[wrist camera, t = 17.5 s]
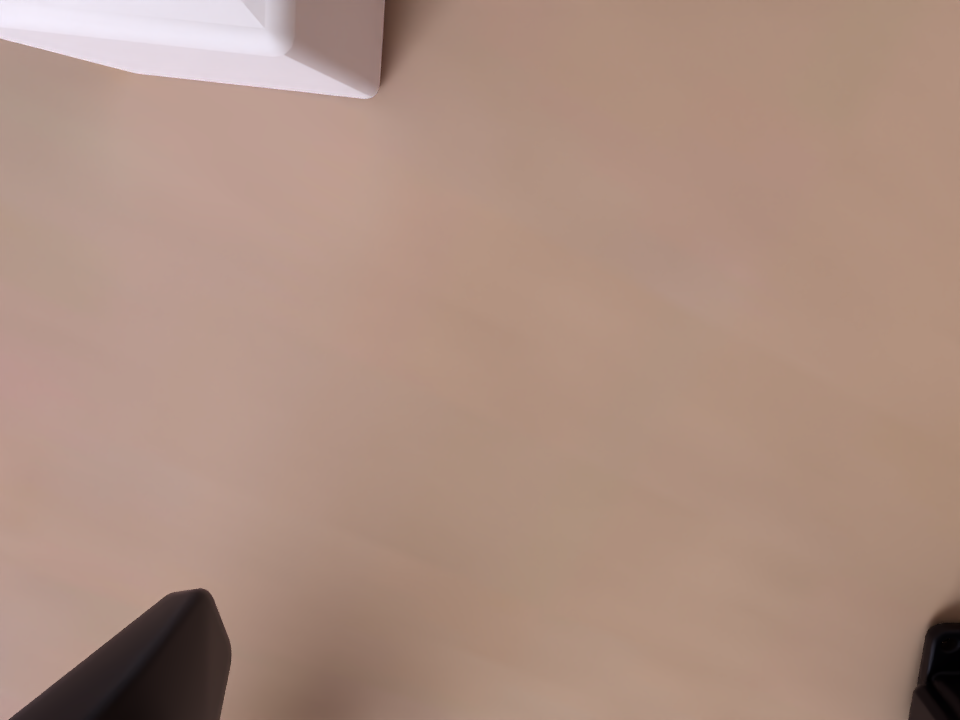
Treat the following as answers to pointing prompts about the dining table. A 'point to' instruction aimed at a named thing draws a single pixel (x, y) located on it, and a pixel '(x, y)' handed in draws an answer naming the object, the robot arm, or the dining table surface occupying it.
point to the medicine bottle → (215, 39)
